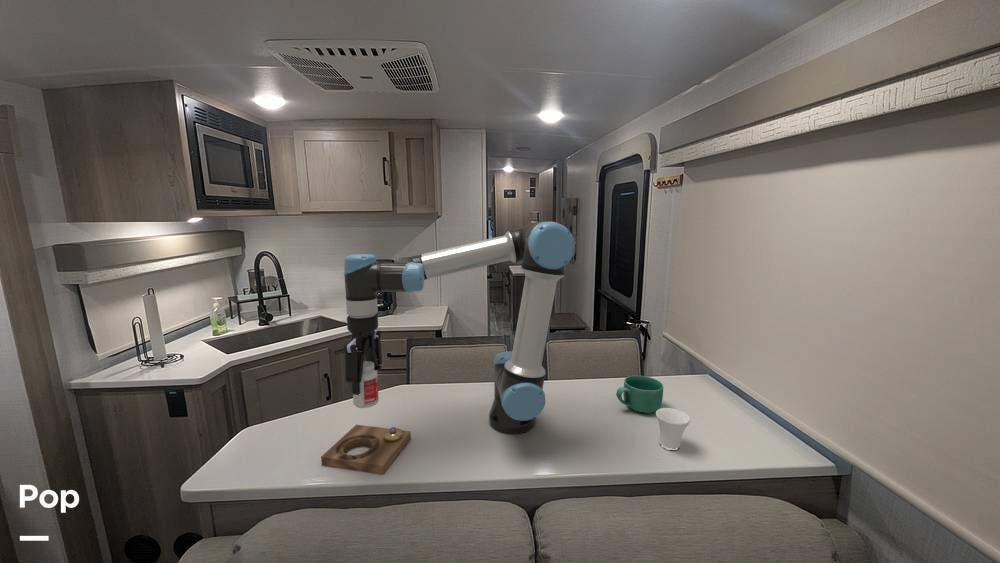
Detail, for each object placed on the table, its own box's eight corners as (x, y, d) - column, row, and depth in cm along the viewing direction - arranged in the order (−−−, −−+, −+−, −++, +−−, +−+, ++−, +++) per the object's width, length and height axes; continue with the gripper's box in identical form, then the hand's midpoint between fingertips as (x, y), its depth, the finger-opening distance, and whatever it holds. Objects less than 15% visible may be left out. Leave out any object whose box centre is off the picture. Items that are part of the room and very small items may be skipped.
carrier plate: (410, 439, 110) (410, 431, 109) (383, 474, 94) (382, 465, 94) (356, 432, 113) (356, 424, 113) (321, 465, 98) (321, 456, 97)
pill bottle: (381, 405, 98) (379, 365, 96) (357, 411, 94) (355, 370, 92) (374, 395, 103) (373, 358, 101) (351, 401, 99) (349, 362, 97)
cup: (646, 442, 108) (648, 410, 107) (669, 434, 112) (671, 404, 110) (670, 459, 100) (673, 425, 98) (694, 451, 104) (697, 418, 102)
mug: (647, 398, 135) (649, 373, 134) (669, 415, 123) (671, 388, 122) (606, 402, 132) (607, 377, 130) (624, 420, 120) (626, 393, 118)
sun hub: (405, 433, 108) (404, 425, 108) (397, 443, 103) (396, 434, 103) (389, 431, 109) (389, 423, 109) (380, 441, 104) (380, 432, 104)
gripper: (369, 305, 104) (372, 382, 108) (325, 323, 86) (330, 414, 90) (393, 307, 103) (396, 384, 107) (354, 325, 84) (358, 418, 88)
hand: (366, 398), depth 98 cm, fingers closed on pill bottle, 6 cm apart
